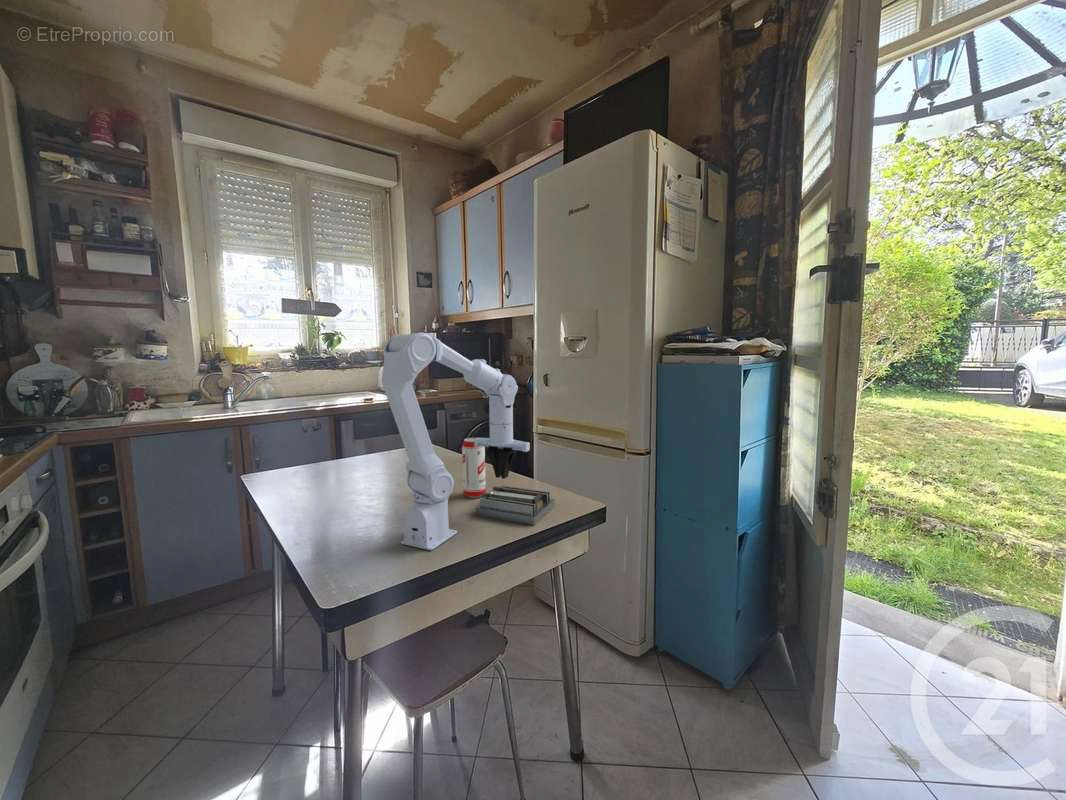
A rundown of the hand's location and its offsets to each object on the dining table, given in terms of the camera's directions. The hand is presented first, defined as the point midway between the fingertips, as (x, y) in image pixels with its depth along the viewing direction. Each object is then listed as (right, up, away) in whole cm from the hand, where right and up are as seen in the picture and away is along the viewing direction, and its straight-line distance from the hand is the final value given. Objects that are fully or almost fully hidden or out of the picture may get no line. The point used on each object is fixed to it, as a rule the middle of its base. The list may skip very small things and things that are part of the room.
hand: (501, 477), depth 106 cm
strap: (+2, -6, +2) cm, 7 cm away
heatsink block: (+3, -9, +2) cm, 10 cm away
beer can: (-9, -8, +14) cm, 18 cm away
